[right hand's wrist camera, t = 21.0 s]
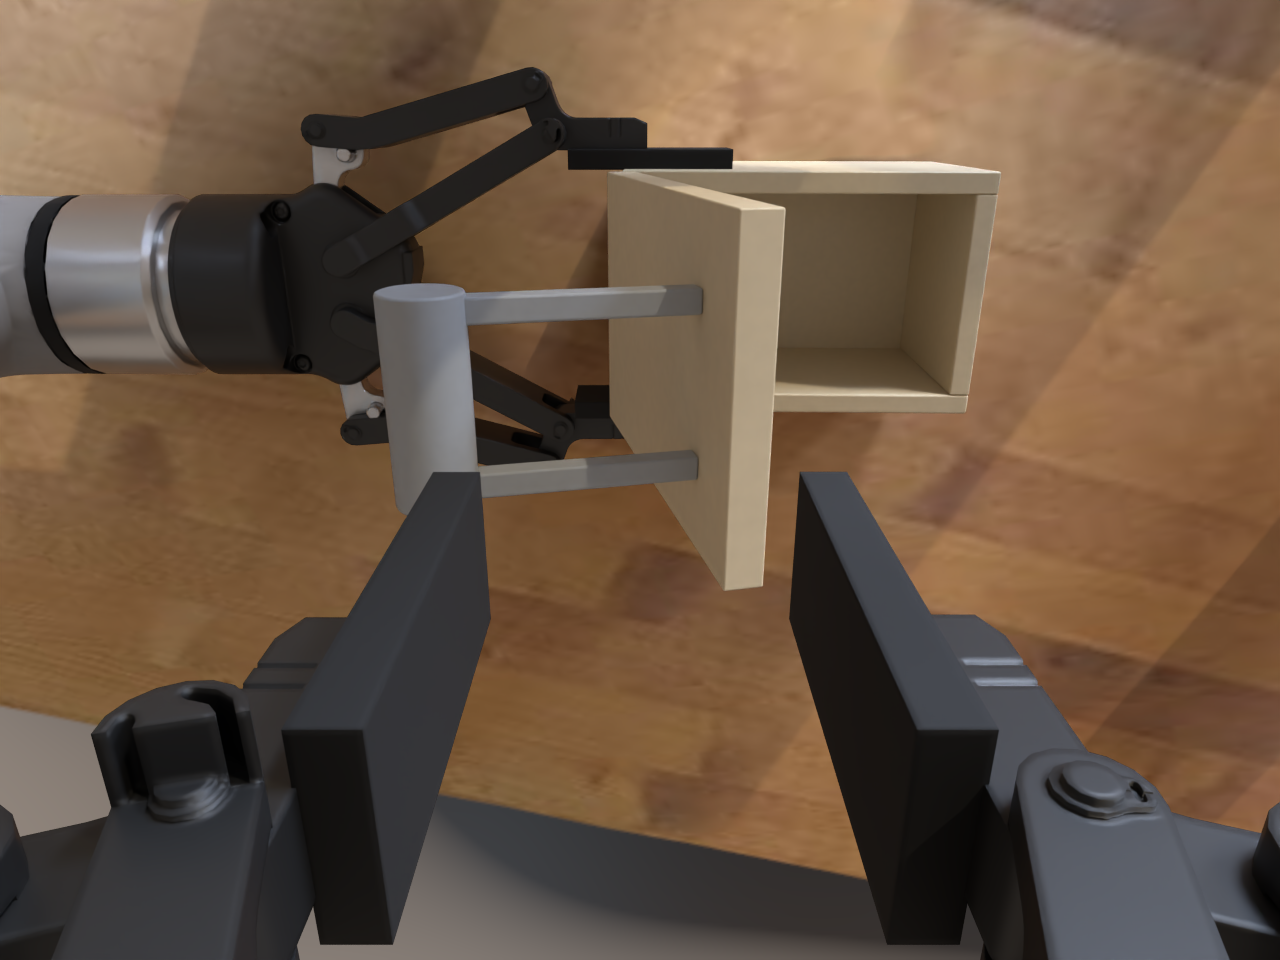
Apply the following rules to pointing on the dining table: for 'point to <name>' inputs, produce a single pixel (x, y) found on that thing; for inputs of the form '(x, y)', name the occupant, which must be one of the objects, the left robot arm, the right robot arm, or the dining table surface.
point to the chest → (872, 278)
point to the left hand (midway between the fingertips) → (724, 285)
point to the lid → (623, 367)
